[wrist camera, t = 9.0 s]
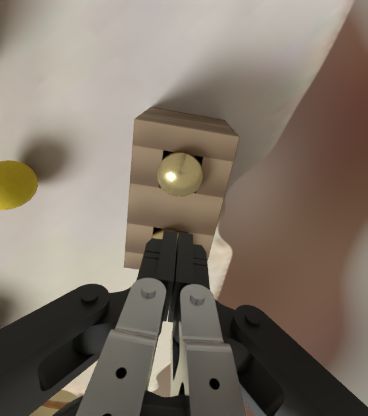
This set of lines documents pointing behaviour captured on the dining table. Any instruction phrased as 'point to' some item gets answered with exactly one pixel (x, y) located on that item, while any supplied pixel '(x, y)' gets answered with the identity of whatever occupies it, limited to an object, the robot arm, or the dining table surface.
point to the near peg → (180, 174)
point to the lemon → (16, 184)
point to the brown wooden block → (162, 201)
